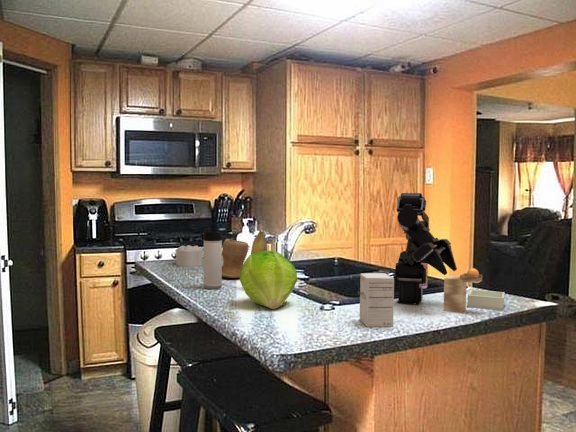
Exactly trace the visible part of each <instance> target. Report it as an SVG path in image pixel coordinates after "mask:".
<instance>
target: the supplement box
mask: <svg viewBox="0 0 576 432" xmlns="http://www.w3.org/2000/svg"><path fill="white" fill-rule="evenodd" d="M359 282H360V283H359V321H361V322H362V323H363V324H364V325H365V327H367V328H369V327H371V328H375V327H376V328H377V327H380V328H382V327H394V309H395V308H394V307H395V306H394V305H395V300H394V299H395V278H394V277H393V276H391V275H389V274H387V273H385V272H382V273H380V272H375V273H372V272H371V273H368V272H367V273H365V272H364V273H360V281H359Z"/></svg>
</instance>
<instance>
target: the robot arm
mask: <svg viewBox="0 0 576 432" xmlns="http://www.w3.org/2000/svg"><path fill="white" fill-rule="evenodd" d="M426 207H427V200H426V197H425V196H423V194H422V192H421V193H420V192H413V193H412V192H401V193H400V196H398V198H397V205H396V212H397V222H398V225H399V228H401V230H403V234H405V239H406V240H407V243H406V248H405V250H402V251H401V252H400V253H399V257H398V260H397V262H395V266H394V267H395V270H394V273H395V274H394V275H395V276H394V277H395V278H394V281H395V283H398V299H397V300H396V303H399V304H410V305H419V304H421V302H422V301H423V294H424V293H423V291H424V289H423V288H422V287H421V284H425V283H426V269H425V268H424V264H422V263H426V264H428V266H429V265H430V266H431V267H432V268H434V269H435V270H436V271H438V272H439V273H440V274H442V275H444V276H446V275H448V270H447V268H446V266H447V267H448V268H449V269H451V271H452V272H455V271H457V269H458V268H457V265H456V261H455V258H454V254H453V251H452V245H451V244H452V243H451V242H450V241H449V239H447V238H441V239H439V238H438V237H434V235H433V234H432V233H431V232H430V231H431V228H430V219H429V218H430V217H429V216H428V214H427V213H426V212H425V211H426ZM419 217H421V219H422V220H420V218H419ZM445 265H446V266H445ZM420 279H421V280H420Z"/></svg>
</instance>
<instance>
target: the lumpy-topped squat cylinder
mask: <svg viewBox="0 0 576 432" xmlns="http://www.w3.org/2000/svg"><path fill="white" fill-rule="evenodd" d="M175 254H176V255H175V257H176V258H175V259H176V261H175V263H176V264H175V265H176V266H178V267H182V268H191V267H201V266H203V249H202V248H200V247H199V246H198V245H193V246H192V245H191V244H190V245H189V244H188V245H181V246H179V247H178V248H176V251H175Z"/></svg>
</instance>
